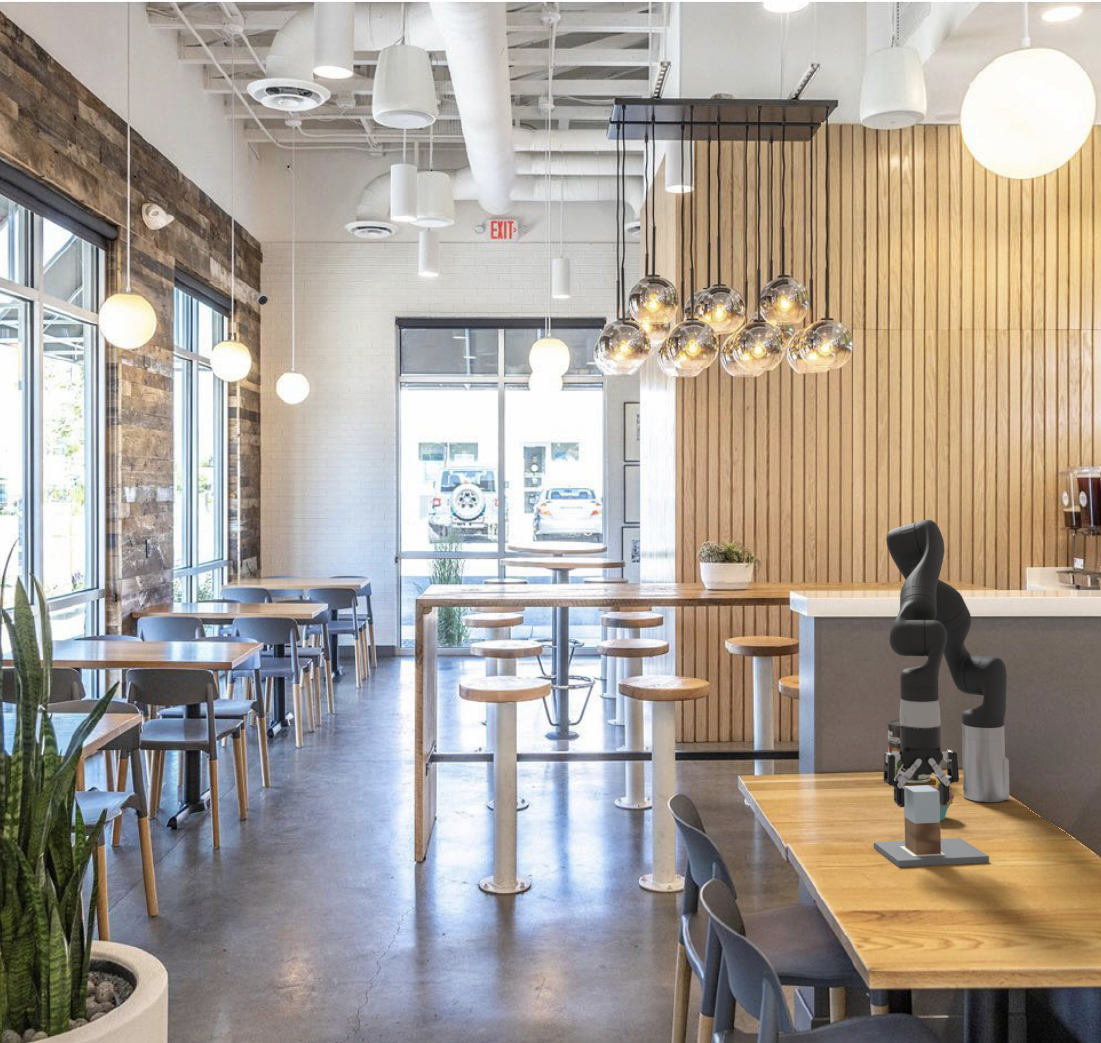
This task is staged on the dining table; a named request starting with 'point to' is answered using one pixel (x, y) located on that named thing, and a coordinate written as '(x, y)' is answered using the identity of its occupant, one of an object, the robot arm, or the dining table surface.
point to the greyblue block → (922, 804)
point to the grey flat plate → (950, 854)
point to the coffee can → (895, 749)
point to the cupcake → (942, 807)
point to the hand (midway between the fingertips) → (921, 805)
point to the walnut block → (923, 837)
